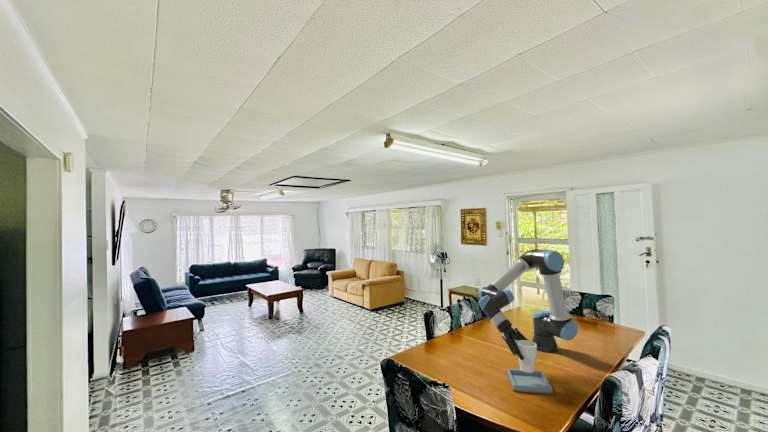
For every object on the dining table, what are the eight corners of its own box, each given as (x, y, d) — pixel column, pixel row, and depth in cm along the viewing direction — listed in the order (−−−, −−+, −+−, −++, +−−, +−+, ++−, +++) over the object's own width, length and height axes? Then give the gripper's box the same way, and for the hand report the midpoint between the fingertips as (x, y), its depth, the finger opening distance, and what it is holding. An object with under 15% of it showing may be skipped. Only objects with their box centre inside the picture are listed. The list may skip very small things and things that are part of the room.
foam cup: (513, 365, 159) (512, 340, 159) (530, 365, 160) (529, 339, 160) (523, 374, 150) (522, 347, 150) (541, 373, 150) (540, 346, 151)
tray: (542, 376, 161) (541, 371, 161) (552, 394, 144) (552, 387, 145) (507, 374, 165) (507, 368, 165) (513, 391, 148) (513, 384, 148)
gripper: (506, 322, 174) (536, 359, 162) (486, 331, 159) (518, 373, 147) (515, 314, 170) (547, 351, 158) (496, 323, 155) (529, 365, 143)
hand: (533, 362), depth 153 cm, fingers closed on foam cup, 9 cm apart
